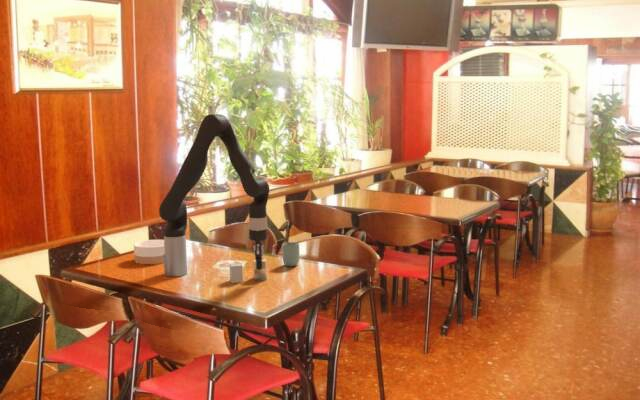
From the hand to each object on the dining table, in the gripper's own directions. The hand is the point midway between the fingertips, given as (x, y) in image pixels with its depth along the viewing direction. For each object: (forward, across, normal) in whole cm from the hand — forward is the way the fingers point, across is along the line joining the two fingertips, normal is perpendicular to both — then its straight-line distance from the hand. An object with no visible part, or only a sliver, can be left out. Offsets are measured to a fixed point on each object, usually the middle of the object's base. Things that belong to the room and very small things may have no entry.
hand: (259, 269), depth 288 cm
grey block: (+6, -4, -10) cm, 12 cm away
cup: (+6, -28, +13) cm, 31 cm away
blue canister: (+6, -7, 0) cm, 9 cm away
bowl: (+6, -45, -52) cm, 69 cm away
